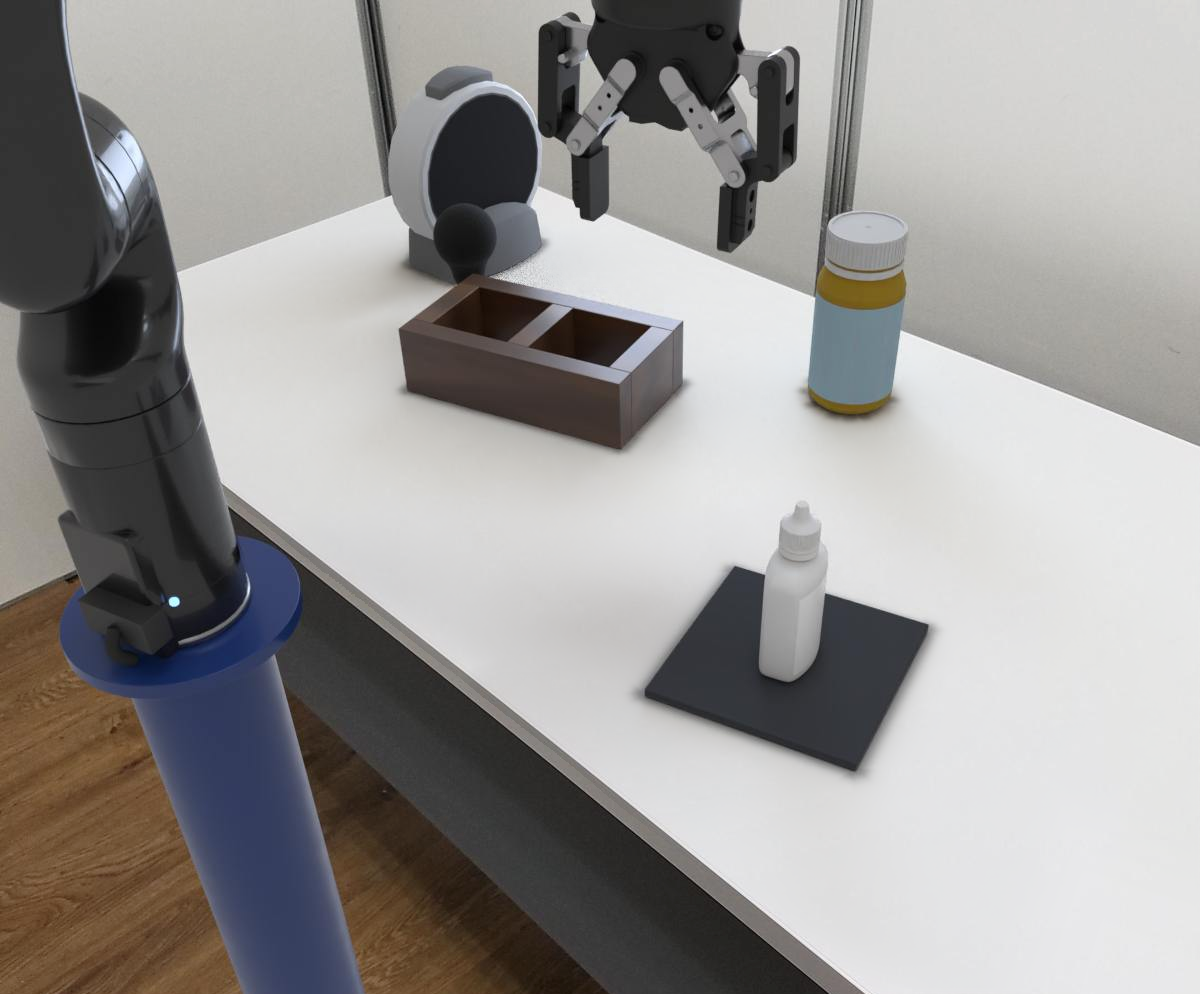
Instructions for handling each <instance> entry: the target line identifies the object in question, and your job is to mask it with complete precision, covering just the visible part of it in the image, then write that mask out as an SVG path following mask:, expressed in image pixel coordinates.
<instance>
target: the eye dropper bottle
mask: <svg viewBox="0 0 1200 994" xmlns="http://www.w3.org/2000/svg"><path fill="white" fill-rule="evenodd" d="M821 533H822V522H821V520H820V519H819V518H818V517H817V516H816V515H815V514H813V513H811V512H810V504H809V502H808V501H806V500H799V501H797V502H796V504H795V507H794V510H793V511H792V512H789V513H786V514H785V515H784V516H783V517H782V518H781V519H780V521H779V533H778V545H777V548H776V549H775V550H774V552H773V553H772V555H771V556H770V558H769V560H768V563H767V566H766V569H765V573H764V575H765V582H764V594H763V608H762V622H761V637H760V651H759V669H760V672H761V673H762V674H763V675H765V676H768V677H771V678H774V679H778V680H781V681H785V682H791V681H794V680H796V679H797V678H799V677H800V676H801V675H803V674H804V673H805V672H806V671H807V670H808V669H809V667H810V666H811V665H812V663H813V662H814V660H815V658H816V655H817V653H818V649H819V643H820V634H821V625H822V616H823V607H824V598H825V593H826V587H827V578H828V567H829V553H828V549H827V547H826V545H825V544H824V543H823V542H822V541H821Z"/></svg>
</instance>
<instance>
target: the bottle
mask: <svg viewBox="0 0 1200 994" xmlns="http://www.w3.org/2000/svg"><path fill="white" fill-rule="evenodd" d="M825 235H826V236H825V246H824V247H825V248H824V251H825V252H824V264H823V266H822V268H821V270H820V272H819V274H818V277H817V279H816V286H815V294H814V295H815V297H814V308H813V318H812V319H813V320H812V329H811V330H812V332H811V340H810V341H811V342H810V352H809V353H810V354H809V363H808V374H807V375H808V376H807V390H808V393H809V395H810V396H811V397H812V399H813V400H814V401H815V402H816V403H817V404H818V405H819V406H820V407H822V408H823V409H825V410H827V411H830V412H833V413H836V414H842V415H863V414H867V413H872V412H873V411H875V410H877V409H879V408H881V407H882V406H883V405H884V404H886V403H887V402H888V401H889V400H890V398H891V396H892V393H893V387H894V382H895V374H896V366H897V360H898V359H897V358H898V352H899V344H900V339H901V338H900V337H901V329H902V324H903V317H904V308H905V301H906V294H907V280H906V276H905V271H904V266H905V256H906V253H907V245H908V239H909V226H908V224H907V222H906V221H904V220H903V219H902V218H900V217H899V216H896V215H894V214H891V213H888V212H883V211H877V210H862V209H861V210H852V211H846V212H842V213H839V214H836V215H835V216H833V217H832V218H831V219H830V220H829V221H828V224H827V227H826V234H825Z"/></svg>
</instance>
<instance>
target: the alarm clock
mask: <svg viewBox="0 0 1200 994" xmlns="http://www.w3.org/2000/svg"><path fill="white" fill-rule="evenodd" d="M493 77H494V76H493V72H492V71H490V70H487V69H484V68H481V67H477V66H472V65H471V66H470V65H455V66H454V65H453V66H447V67H446V68H444V69H442V70H440V71H439V72H437V73H436V74H435V75H433V76H431V78H430V79H429V80H428V81H427V83H426V84H425V85H424V86H423V87H422V88H421V89H420V90H419V91H418V92H417V93H415V95H414V96H413V97H411V99H410V100H409V102H408V104H407V105H406V107H405V108H404V110H403V111H402V113H401V114H400V116H399V119H398V121H397V124H396V126H395V129H394V132H393V135H392V136H391V142H390V148H389V153H388V160H387V171H388V186H389V190H390V195H391V198H392V202H393V205H394V207H395V209H396V211H397V212H398V214H399V216H400V218H401V219H402V222H404V223H405V225H407V226H408V264H409V266H410V267H412V268H415V269H417V270H419V271H421V272H423V273H426V274H428V275H431V276H433V277H434V278H437V279H439V280H442V281H444V282H446V283H449V284H451V285H457V284H456V282H455V280H454V278H453V275H452V271H451V269H450V267H449V265H448V264H447V263H446V262H445V261H444V260H443V259H442V258H441V256H440V255H439V254H438V252H437V250H436V248H435V244H434V239H433V231H434V226H435V223H436V221H437V219H438V217H439V216H440V215H441V214H442V212H443V211H444V210H446V209H447V208H449V207H450V206H453V205H456V204H460V203H467V204H472V205H475V206H478V207H480V208H481V209H483V210H484V211H485V212H486V213H487V214H488V215H489V216H490V218H491V219H492V221H493V222H494V225H495V228H496V233H497V242H496V246H495V250H494V252H493V254H492V256H491V257H490V258H489V260H488V262H487V264H486V270H485V276H486V277H490V276H493V275H495V274H498V273H501V272H502V271H503V272H504V271H505V270H508V269H511V268H512V267H514V266H516V265H518V264H519V263H521V262H523V261H525V260H527V259H528V258H530V257H531V256H532V255H533V254H535V253H536V252H537V251H538V250H539V249H540V248H541V247H542V245H543V241H542V235H541V230H540V225H539V221H538V219H539V218H538V214H537V211H536V210H535V209H533V208H532V207H531V206H532V204H533V200H534V198H535V195H536V192H537V190H538V187H539V182H540V178H541V172H542V168H543V166H542V165H543V143H542V135H541V133H540V132H539V129H538V119H537V118H536V116H535V113H534V111H533V108H532V107H531V105H530V104H529V103H528V102H527V100H526V99H525V98H524V97H523V95H522V94H521V93H519V92H518V91H516V90H515V89H513V88H512V87H511V86H509V85H507V84H503V83H500V82H497V81H494V78H493Z"/></svg>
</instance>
